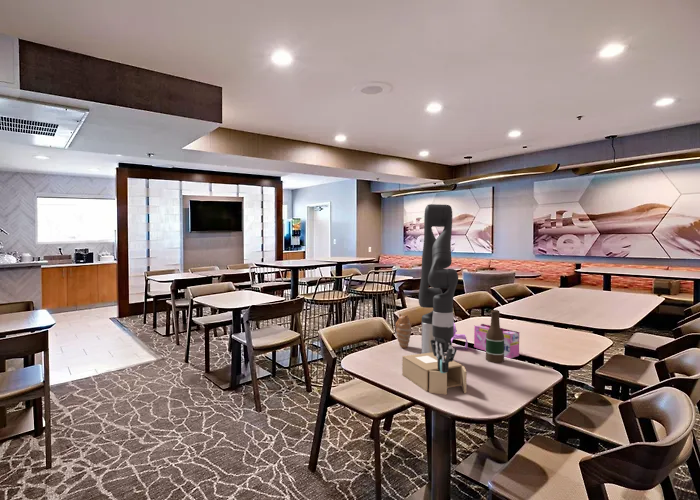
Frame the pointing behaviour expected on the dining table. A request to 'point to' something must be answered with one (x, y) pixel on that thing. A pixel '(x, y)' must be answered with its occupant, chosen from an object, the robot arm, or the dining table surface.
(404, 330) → the brown ridged tapered piece
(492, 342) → the beer bottle
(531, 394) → the dining table surface
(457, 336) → the chair
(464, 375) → the flap
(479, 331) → the gum box
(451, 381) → the carton
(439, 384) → the flap
